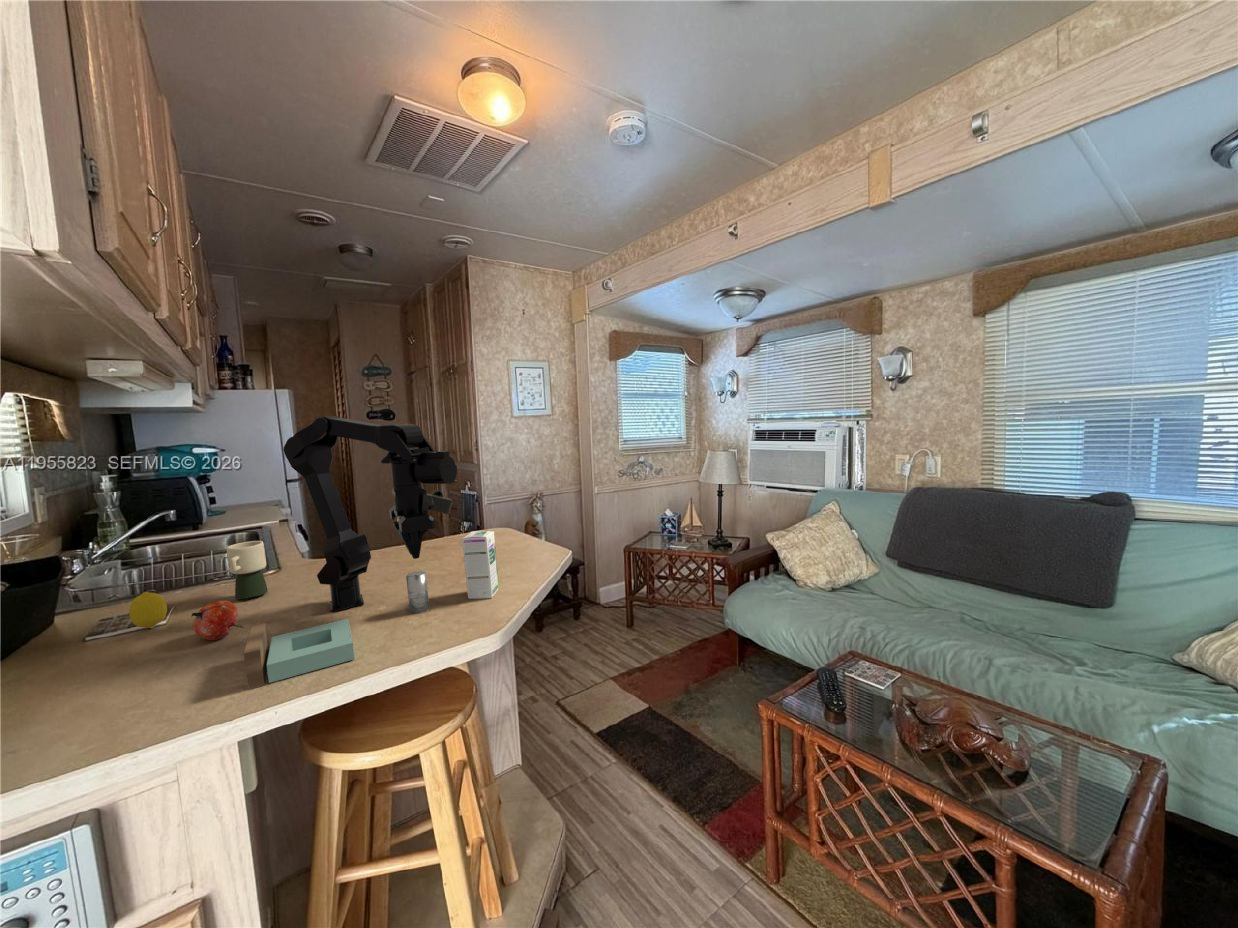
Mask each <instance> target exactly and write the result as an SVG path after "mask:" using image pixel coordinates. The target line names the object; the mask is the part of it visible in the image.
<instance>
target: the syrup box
mask: <svg viewBox="0 0 1238 928" xmlns="http://www.w3.org/2000/svg"><path fill="white" fill-rule="evenodd" d="M461 539H462V550H463V559H464V568H465V579H466V590H467V592H466V593H467V599H469V600H470V599H471V600H478V599H479V600H480V599H493V598H494V595H496V593H497V592H498V590H499V589H500V584H499V581H500V580H499V572H498V571H499V570H498V559H497V551H496V550H497V549H496V541H495V539H496V538H495V531H494V530H476V531H475V530H474V531H470V532H469V533H468V534H467V535H465V536H464V537H462V538H461Z"/></svg>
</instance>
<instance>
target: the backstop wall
mask: <svg viewBox="0 0 1238 928" xmlns="http://www.w3.org/2000/svg"><path fill="white" fill-rule="evenodd" d="M269 650H270V643H269V635H268V628H267V622H265V623H261V624H260V623H259V624H255V625H252V626H251V629H250V632H249V636H248V638H247V641H246V645H245V648H244V652H243V659H244V665H245V666H244V667H245V673H246V680H247V686H248V687H247V688H248V691H249V690H253V689H256V688H260V687H264V686H265V684H266V680H267V676H268V672H267V661H268V655H269Z"/></svg>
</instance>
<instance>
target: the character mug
mask: <svg viewBox="0 0 1238 928" xmlns="http://www.w3.org/2000/svg"><path fill="white" fill-rule="evenodd" d="M225 549H226V557H227V561H228V564H229V567H228V572H229V573H231V574H235V575H236V577H235V583H234V584H235V585H234V586H235V587H234V588H235V589H234V593H235V594H234V596H235V597H234V598H235V599H236V600H242V599H247V600H250V599H251V598H253V597H259V596H262V595H265V594H266V593H268V591H269V590H268V585H267V582H266V579H265V576H264V572H262V570H264V569H265V568H266V567H267V559H266V550H265V545H264V541H263V540H251V541H243V542H238V543H234V544H231V545H228V546H226V548H225Z"/></svg>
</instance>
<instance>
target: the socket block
mask: <svg viewBox="0 0 1238 928" xmlns="http://www.w3.org/2000/svg"><path fill="white" fill-rule="evenodd" d="M353 643H354V642H353V637H352V633H351V626H350V621H349V618H347V619H342V620H337V621H334V622H329V623H325V624H320V625H317V626H312V627H308V628H304V629H299V630H295V631H290V632H288V633H283V634H278V635H275V636H272V637H271V640H270V644H269V649H270V650H269V655H268V661H267V678H268V683H269V684H270V683H271V684H272V683H274V682H277V681H280V680H284V679H287V678H289V679H290V678H291V677H295V676H299V675H303V674H306V673H310V672H314V671H317V670H321V669H323V668H328V667H332V666H335V665H339V664H342V663H345V662H349V661H353V660H355V652H354V644H353Z"/></svg>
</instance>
